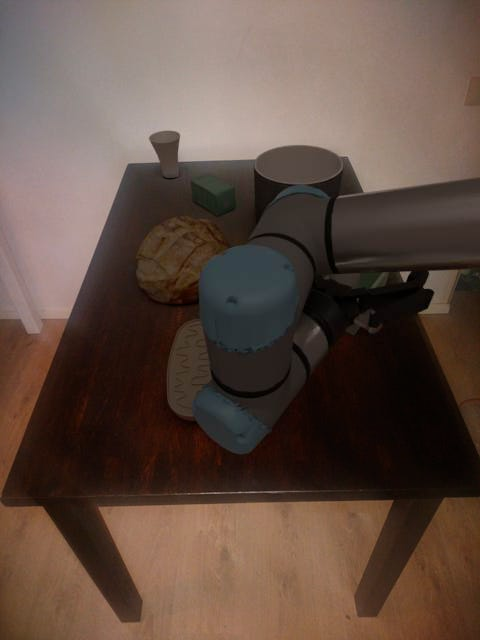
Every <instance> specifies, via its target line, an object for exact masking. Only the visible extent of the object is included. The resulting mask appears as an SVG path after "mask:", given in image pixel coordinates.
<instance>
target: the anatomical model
mask: <svg viewBox="0 0 480 640" xmlns="http://www.w3.org/2000/svg"><path fill="white" fill-rule="evenodd" d="M200 320H201V318H195V319H191V320H189V321H187V322H185V323H183V324H182V325H181V326H180V327H179V329H178V330H177V332H176V334H175V337H174V340H173V343H172V346H171V349H170V353H169V356H168V361H167V369H166V397H167V398H166V399H167V403H168V406H169V407H170V409H171V411H172V412H173V413H174V415H176V416H177V417H178V418H180V419H182V420H184V421H188V422H197V421H196V419H195V418H194V416H193V413H192V403H193V400H194V399H195V397H196V396H197V395H198V393H199V392H200V391H201V389H202V387H203V386H204V385H206V384H207V383H208V382H210V381H211V378H212V377H211V371H210V361H209V356H208V351H207V346H206V341H205V336H204V331H203V327H202V324H201V322H200Z"/></svg>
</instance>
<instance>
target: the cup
mask: <svg viewBox="0 0 480 640" xmlns="http://www.w3.org/2000/svg"><path fill="white" fill-rule="evenodd" d="M180 139H181V134H180V132H178V131H175V130H161V131H160V130H159V131H157V132H154V133H152V134H151V135H150V136H149V137H148V140H149V142H150V144H151V146H152V148H153V150H154V151H155V154H156V155H157V158H158V161H159V163H160V168H161V173H162V172H163V173H165V174H173V173H176V172H178V171H179V170H180V167H179V147H180Z"/></svg>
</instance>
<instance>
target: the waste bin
mask: <svg viewBox="0 0 480 640" xmlns="http://www.w3.org/2000/svg"><path fill="white" fill-rule="evenodd" d="M389 275H390V272H381V273H361V274H360V278H359V282H358V287H357V288H361V287H366V288H367V289H371V288H376V287H382V286H387V281H388V278H389ZM322 276H323V279H329V275H322ZM358 300H359V298H357V301H358ZM372 310H374V309H369V310H367V311H366V312H365V313H363V315H366V314H368V313H370V312H371V311H372ZM360 328H361V327H360V326H358V325H356V324H354V325H351V326H349V327H348V328H347V329H346V330H345V332H344V333H347V334H349V335H352V336H355V335H356V334H357V332H358V331H359V330H360Z"/></svg>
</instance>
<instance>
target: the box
mask: <svg viewBox="0 0 480 640" xmlns="http://www.w3.org/2000/svg"><path fill="white" fill-rule="evenodd" d="M190 188H191V194H192V195H191V197H192V201H193V202H195V204H197V205H199V206H201V207H202V208H204V209H206V210H207V211H209V212H210V213H212V214H213V215H214V216H216V217H220V216H222V215H224V214H226V213H229V212H230V211H232V210H234V209H235V208H236V189H235V187H234V186H233V185H231V184H229V183H227V182H225V181H223V180H222V179H220V178H219V177H216V176H215V175H213V174H211V173H209V172H208V173H205V174H203V175H199V176H197V177H193V178H192V179H190ZM195 200H196V201H195ZM198 202H199V203H198ZM201 204H202V205H201Z"/></svg>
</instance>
